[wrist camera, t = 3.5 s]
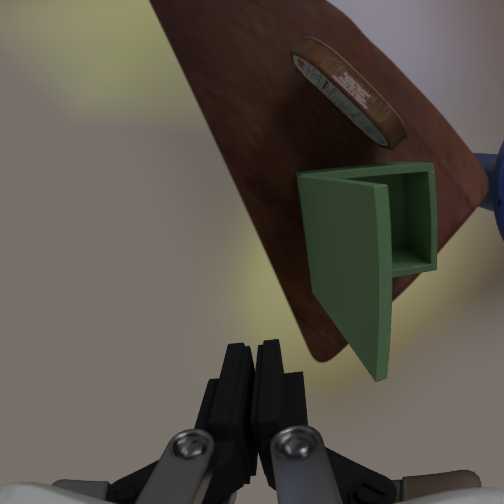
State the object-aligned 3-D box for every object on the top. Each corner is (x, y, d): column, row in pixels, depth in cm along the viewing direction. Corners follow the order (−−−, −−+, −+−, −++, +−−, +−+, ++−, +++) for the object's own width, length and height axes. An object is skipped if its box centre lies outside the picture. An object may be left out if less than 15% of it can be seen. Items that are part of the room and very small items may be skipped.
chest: (404, 161, 33) (433, 163, 26) (409, 249, 36) (436, 269, 29) (295, 172, 35) (301, 175, 27) (307, 264, 38) (315, 289, 30)
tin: (392, 138, 33) (423, 134, 25) (376, 155, 33) (403, 155, 25) (301, 49, 30) (308, 21, 22) (283, 66, 31) (285, 40, 23)
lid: (388, 184, 13) (373, 186, 13) (387, 378, 16) (375, 382, 16) (306, 175, 27) (297, 176, 27) (319, 290, 30) (311, 292, 30)
